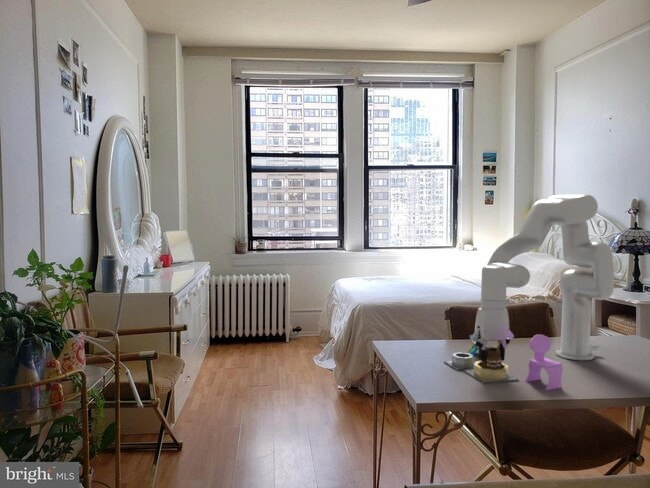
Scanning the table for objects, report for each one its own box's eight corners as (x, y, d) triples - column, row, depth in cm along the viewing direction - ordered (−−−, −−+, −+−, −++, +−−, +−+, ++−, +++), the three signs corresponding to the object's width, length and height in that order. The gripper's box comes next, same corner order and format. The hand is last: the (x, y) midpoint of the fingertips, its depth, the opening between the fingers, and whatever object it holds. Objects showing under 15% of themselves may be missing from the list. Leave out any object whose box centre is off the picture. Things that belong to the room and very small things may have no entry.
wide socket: (495, 368, 173) (496, 358, 173) (518, 380, 161) (519, 369, 161) (464, 371, 170) (464, 361, 169) (485, 384, 158) (485, 372, 158)
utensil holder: (478, 368, 168) (479, 331, 167) (497, 367, 169) (498, 331, 168) (486, 374, 162) (487, 336, 161) (505, 373, 163) (506, 335, 162)
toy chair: (544, 391, 152) (546, 341, 151) (522, 382, 160) (524, 334, 159) (565, 387, 156) (567, 338, 155) (542, 378, 164) (544, 332, 163)
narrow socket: (467, 360, 182) (467, 350, 182) (481, 368, 173) (481, 358, 173) (444, 362, 179) (444, 352, 179) (457, 370, 171) (457, 360, 170)
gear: (497, 354, 184) (477, 334, 184) (485, 366, 183) (465, 346, 184) (486, 350, 195) (467, 331, 195) (475, 361, 195) (456, 342, 195)
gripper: (509, 301, 170) (507, 354, 171) (462, 303, 165) (461, 359, 167) (524, 305, 163) (522, 361, 164) (475, 308, 158) (474, 366, 159)
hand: (491, 359), depth 165 cm, fingers closed on utensil holder, 5 cm apart
